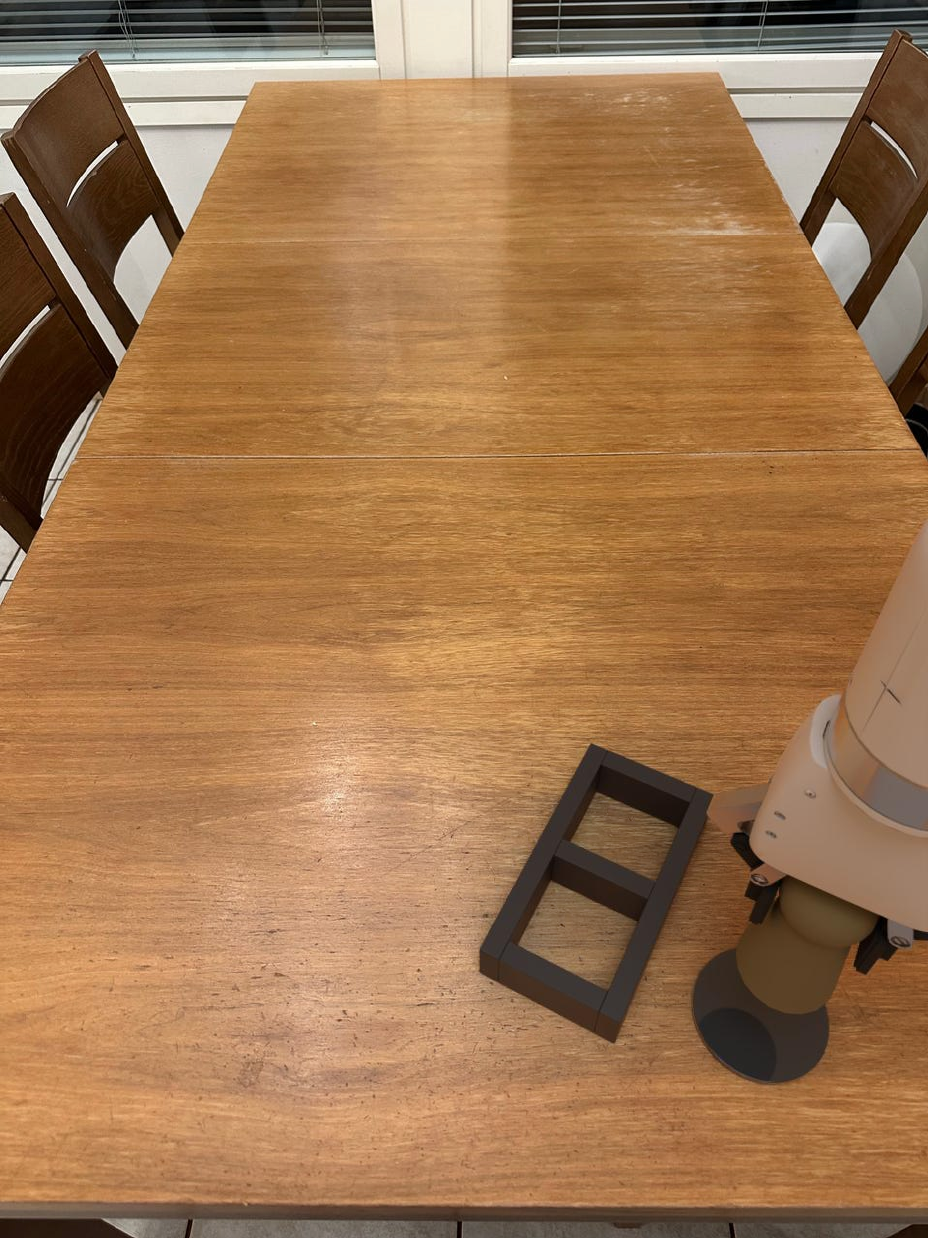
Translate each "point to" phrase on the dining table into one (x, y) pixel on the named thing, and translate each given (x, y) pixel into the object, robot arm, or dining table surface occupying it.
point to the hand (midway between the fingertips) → (812, 924)
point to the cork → (801, 947)
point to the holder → (596, 890)
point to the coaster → (754, 1027)
